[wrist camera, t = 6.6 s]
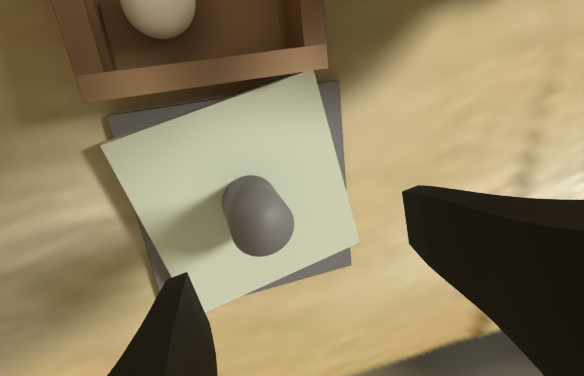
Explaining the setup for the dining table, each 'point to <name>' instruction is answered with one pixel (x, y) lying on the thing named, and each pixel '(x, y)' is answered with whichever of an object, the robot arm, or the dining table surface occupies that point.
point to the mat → (147, 117)
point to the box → (190, 46)
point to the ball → (159, 16)
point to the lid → (239, 188)
